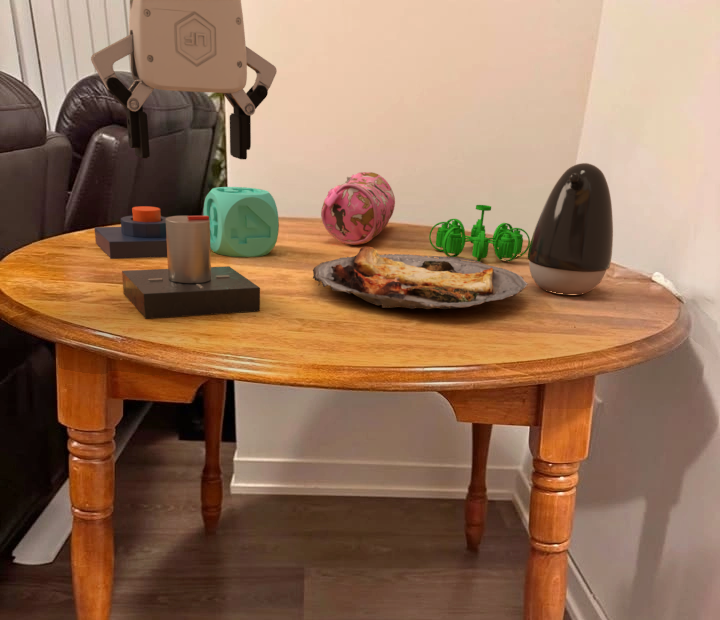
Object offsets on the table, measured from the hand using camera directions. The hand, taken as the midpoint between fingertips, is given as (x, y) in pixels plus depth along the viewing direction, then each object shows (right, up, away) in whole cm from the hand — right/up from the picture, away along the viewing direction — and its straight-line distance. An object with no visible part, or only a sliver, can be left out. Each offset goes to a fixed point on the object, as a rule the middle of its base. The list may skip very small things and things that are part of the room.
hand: (191, 157), depth 76 cm
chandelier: (+34, +2, +41) cm, 54 cm away
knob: (-1, -11, +5) cm, 12 cm away
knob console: (-2, -13, +7) cm, 14 cm away
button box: (-12, -1, +29) cm, 31 cm away
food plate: (+23, -10, +17) cm, 30 cm away
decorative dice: (0, 0, +31) cm, 31 cm away
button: (-12, +3, +27) cm, 29 cm away
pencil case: (+16, +7, +48) cm, 51 cm away
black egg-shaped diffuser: (+42, -8, +23) cm, 49 cm away
